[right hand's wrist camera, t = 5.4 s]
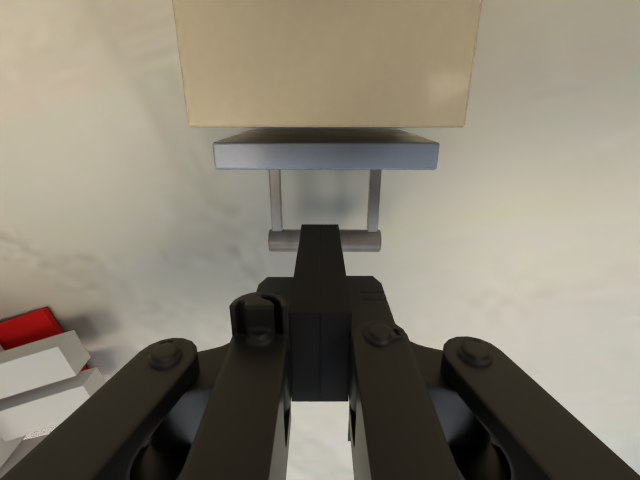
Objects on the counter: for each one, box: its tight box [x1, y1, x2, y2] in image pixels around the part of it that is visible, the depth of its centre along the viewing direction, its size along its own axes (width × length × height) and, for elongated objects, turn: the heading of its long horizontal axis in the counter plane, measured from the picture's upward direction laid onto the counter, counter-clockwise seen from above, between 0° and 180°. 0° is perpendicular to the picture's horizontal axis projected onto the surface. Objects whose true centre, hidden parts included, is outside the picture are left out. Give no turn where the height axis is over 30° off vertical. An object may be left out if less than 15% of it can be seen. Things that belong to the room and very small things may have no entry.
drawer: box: [213, 130, 439, 252], centre depth 18 cm, size 25×10×8 cm, turn 0°
